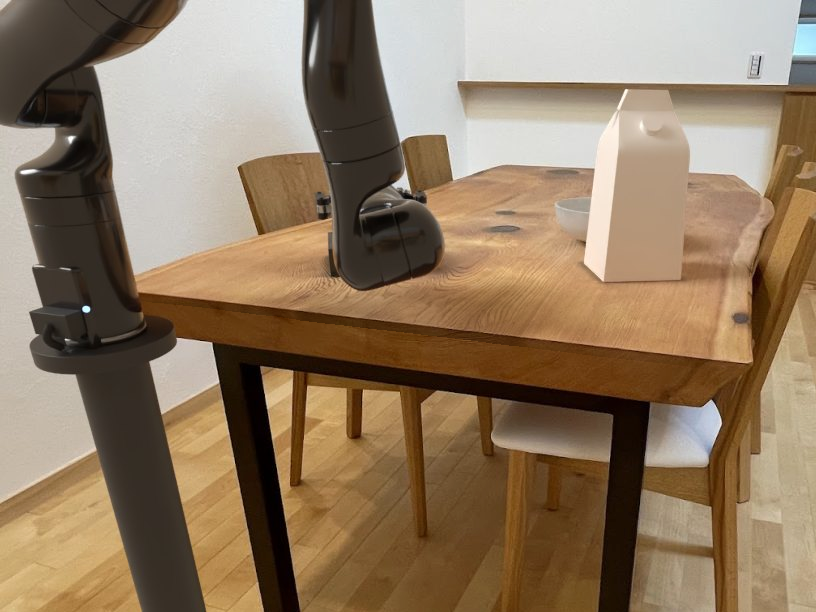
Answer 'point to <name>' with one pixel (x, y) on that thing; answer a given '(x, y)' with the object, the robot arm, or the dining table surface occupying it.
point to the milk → (639, 192)
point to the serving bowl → (574, 216)
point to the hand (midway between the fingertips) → (368, 195)
